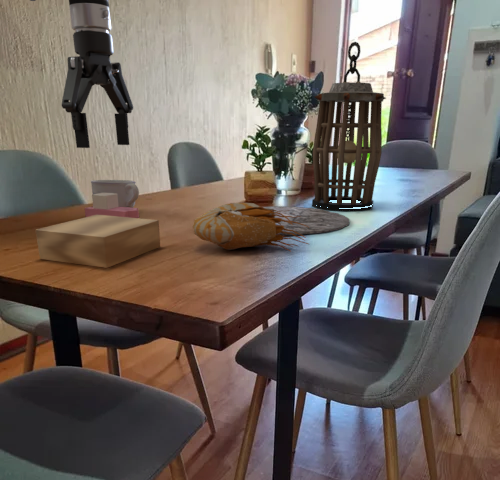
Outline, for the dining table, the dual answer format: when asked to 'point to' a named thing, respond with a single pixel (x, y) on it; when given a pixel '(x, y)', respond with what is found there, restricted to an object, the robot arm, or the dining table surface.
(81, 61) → the robot arm
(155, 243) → the block
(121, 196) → the teacup
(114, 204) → the pink-and-white stacked brick
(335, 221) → the grey-brown round placemat
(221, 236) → the nautilus
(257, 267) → the dining table surface
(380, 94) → the lantern
